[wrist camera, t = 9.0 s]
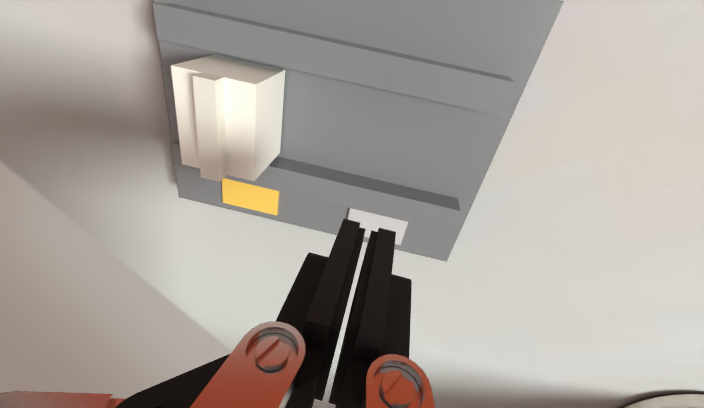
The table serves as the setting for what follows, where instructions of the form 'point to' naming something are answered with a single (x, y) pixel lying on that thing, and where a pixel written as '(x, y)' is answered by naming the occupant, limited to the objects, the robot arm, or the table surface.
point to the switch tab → (228, 115)
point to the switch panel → (367, 105)
